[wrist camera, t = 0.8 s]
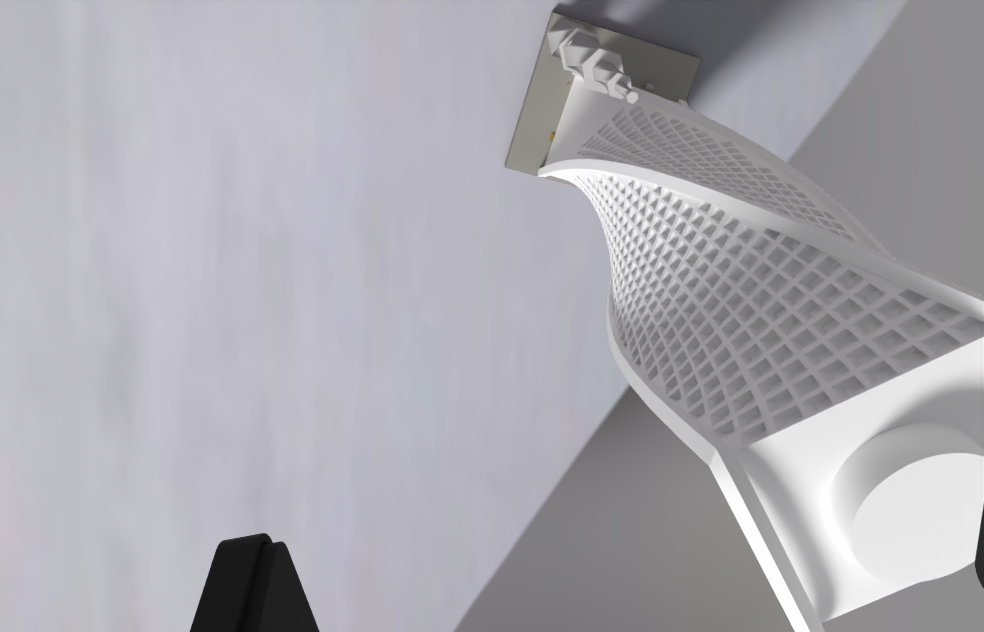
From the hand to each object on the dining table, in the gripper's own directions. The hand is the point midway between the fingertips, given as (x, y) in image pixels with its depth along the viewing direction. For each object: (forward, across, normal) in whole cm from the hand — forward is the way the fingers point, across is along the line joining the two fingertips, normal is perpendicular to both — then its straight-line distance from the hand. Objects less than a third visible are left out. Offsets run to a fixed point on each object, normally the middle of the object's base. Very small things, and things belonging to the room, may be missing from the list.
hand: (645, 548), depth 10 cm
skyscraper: (+29, -5, +2) cm, 29 cm away
